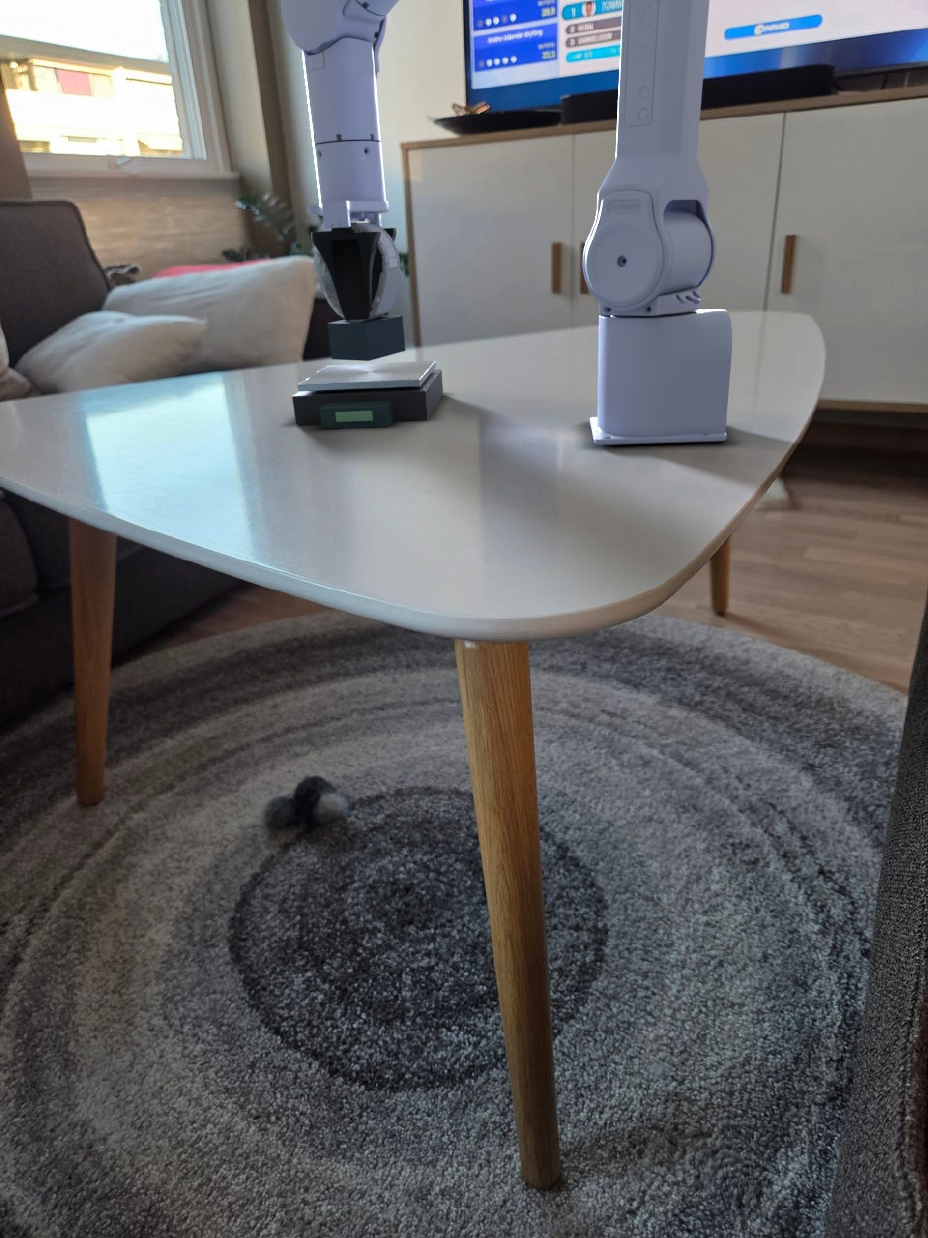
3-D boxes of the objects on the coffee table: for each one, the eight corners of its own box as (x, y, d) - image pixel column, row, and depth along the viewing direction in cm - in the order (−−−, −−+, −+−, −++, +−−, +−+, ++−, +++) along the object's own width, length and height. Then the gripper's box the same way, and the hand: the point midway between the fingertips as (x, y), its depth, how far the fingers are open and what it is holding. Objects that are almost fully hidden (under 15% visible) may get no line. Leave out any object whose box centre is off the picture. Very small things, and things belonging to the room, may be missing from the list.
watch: (353, 348, 80) (339, 224, 75) (420, 351, 76) (409, 219, 71) (315, 358, 76) (297, 227, 71) (383, 361, 72) (369, 222, 67)
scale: (443, 394, 83) (441, 368, 82) (423, 425, 70) (421, 396, 69) (328, 398, 84) (324, 373, 83) (287, 430, 71) (283, 401, 70)
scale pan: (435, 366, 81) (435, 360, 81) (420, 386, 72) (419, 379, 71) (328, 371, 83) (327, 365, 82) (298, 391, 73) (297, 384, 72)
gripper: (322, 154, 76) (340, 310, 82) (275, 140, 63) (300, 326, 69) (397, 149, 75) (409, 306, 81) (365, 133, 62) (383, 322, 68)
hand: (364, 315), depth 75 cm, fingers closed on watch, 6 cm apart
